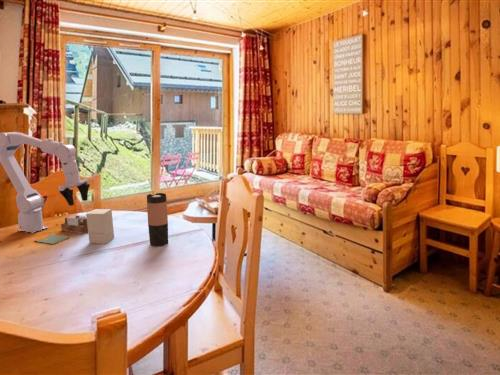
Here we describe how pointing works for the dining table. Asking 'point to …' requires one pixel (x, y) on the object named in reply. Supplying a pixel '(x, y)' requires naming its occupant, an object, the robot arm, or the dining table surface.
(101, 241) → the supplement box
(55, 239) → the felt mat
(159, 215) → the travel mug
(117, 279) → the dining table surface
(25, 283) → the dining table surface
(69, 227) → the plane body
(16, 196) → the robot arm
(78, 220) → the lever cap
